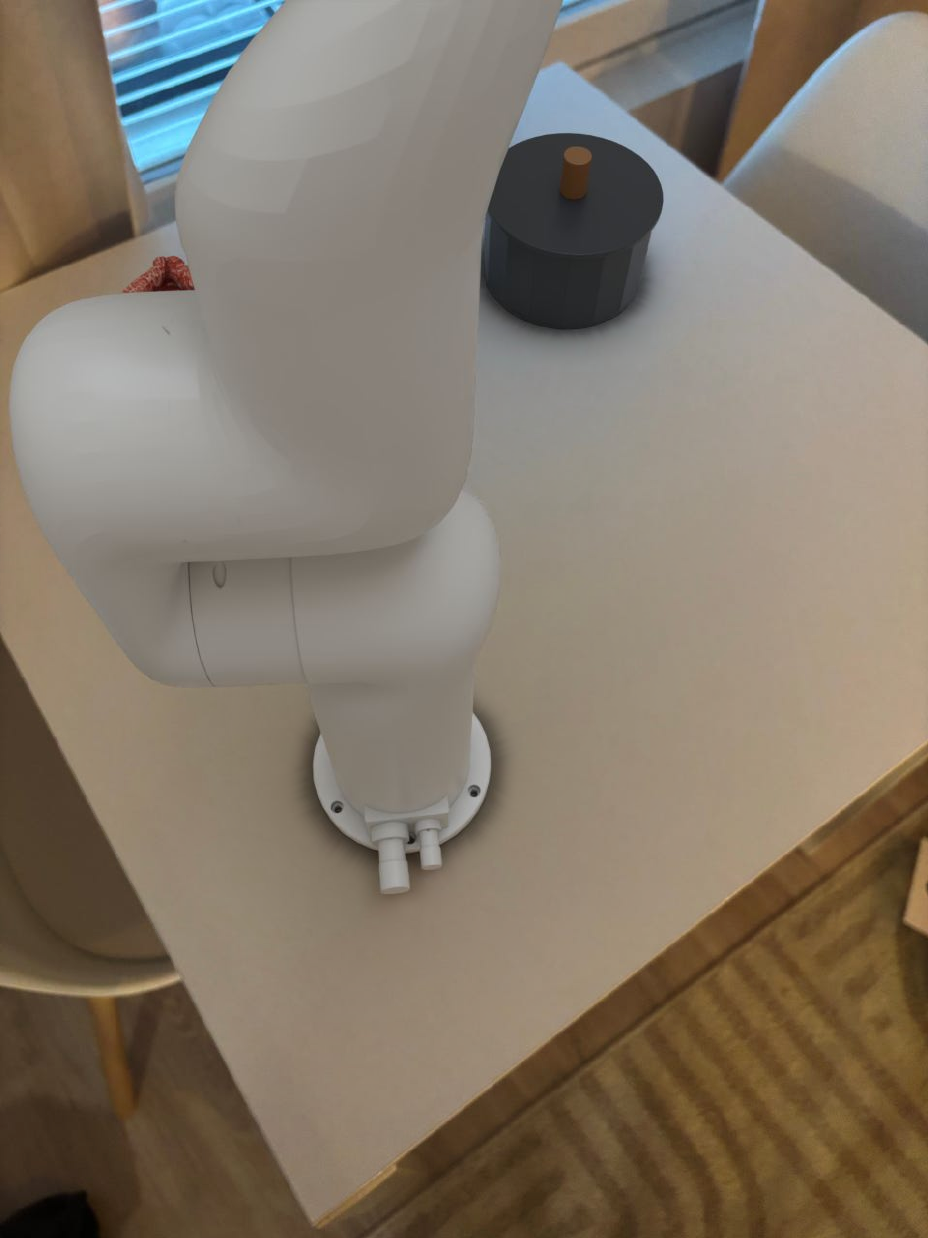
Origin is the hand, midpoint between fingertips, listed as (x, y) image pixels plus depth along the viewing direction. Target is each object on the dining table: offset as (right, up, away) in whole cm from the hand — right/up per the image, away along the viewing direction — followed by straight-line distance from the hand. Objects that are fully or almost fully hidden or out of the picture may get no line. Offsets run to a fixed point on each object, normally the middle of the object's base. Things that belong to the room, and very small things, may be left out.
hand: (366, 2), depth 67 cm
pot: (+17, -10, +24) cm, 31 cm away
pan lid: (+17, -6, +16) cm, 24 cm away
